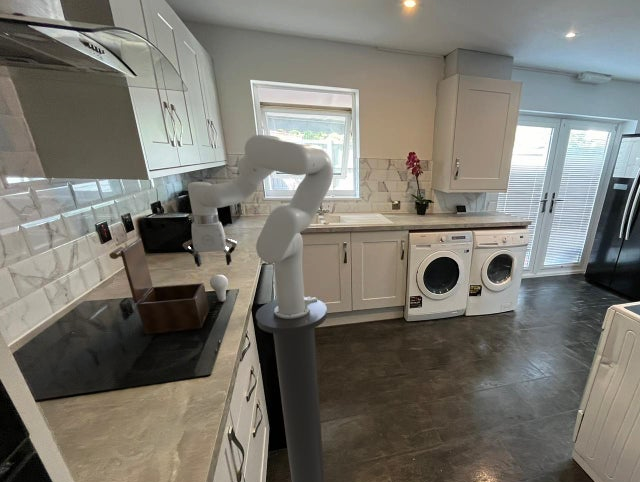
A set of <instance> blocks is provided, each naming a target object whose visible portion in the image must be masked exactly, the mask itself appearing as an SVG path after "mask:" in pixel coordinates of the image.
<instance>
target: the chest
mask: <svg viewBox="0 0 640 482" xmlns="http://www.w3.org/2000/svg"><path fill="white" fill-rule="evenodd" d="M135 304H136V308H137V311H138V315H139V317H140V318H139V319H140V321H141V324H142V328H143V331H144V334H145V336H146V335H155V334H164V333H174V332H181V331H191V330H199V329H202V328H203V325H204V324H205V322H206V319H207V316H208V314H209V311H210V307H209V302H208V297H207V293H206V288H205V283H204V282H201V283H200V282H199V283H188V284H174V285H162V286H152V287H151V288H150V289H149V290H148V291H147V293H146V294H145V295H144V296H143V297H142V298H141V299H140V300H139V301H138V303H135Z"/></svg>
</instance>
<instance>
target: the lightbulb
mask: <svg viewBox="0 0 640 482" xmlns="http://www.w3.org/2000/svg"><path fill="white" fill-rule="evenodd" d="M209 286H210V287H211V289H213V291H214V293H215V294H216V296H217V299H218V301H219V302H224V301H226V300H227V296H226V295H227V288H228V286H229V280H228V277H226V276H225V275H223V274H215V275H213V276H211V278H210V279H209Z"/></svg>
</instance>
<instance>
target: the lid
mask: <svg viewBox="0 0 640 482" xmlns="http://www.w3.org/2000/svg"><path fill="white" fill-rule="evenodd" d="M120 257H121V260H122V263H123V267H124V271H125V273H126V278H127V281H128V285H129V289H130V292H131V296H132V299H133V303H134V304H137V303H138V302H139V301H140V300H141V299H142V297H143V296H144V295H145V294H146V293H147V292H148V291H149V290H150V288H151V287H154V286H153V282H152V281H153V280H152V278H151V274H150V269H149V265H148V261H147V257H146V253H145V249H144V244H143V241H142V238H137V239H136V240H135V241H133V242H131V243H130V244H128V245H127V246H126V247H123V246H120V247H118V248H116V249H114V250H113V251H111V252H110V253H109V258H110V259H112V260H116V259H118V258H120Z"/></svg>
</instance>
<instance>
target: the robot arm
mask: <svg viewBox="0 0 640 482" xmlns="http://www.w3.org/2000/svg"><path fill="white" fill-rule="evenodd" d="M236 166H237V170H238V172H239V173H240V174H238V175H237V176H236V177H235V178H234V179H232V180H231V181H227V182H219V183H213V184H212V183H210V182H208V181H192V182H190V183H188V184H187V191H188V197H189V202H190V207H191V212H192V214H191V215H188V220H190V221H193V222H192V223H191V239H189V240H188V241H185V242H184V243H183V244H182V247H183V248H184V249H185V250H186V252H187V253H189V254H190V255H191V256H193V260H194V264H195V265H196V267H198V268H200V267H201V265H202V259H201V255H200V253H209V252H223V253H225V261H226V266H230V264H231V263H232V253H233V252H234V251H235V250H236V247H237V245H238V241H235V240H233V239H231V238H228V237H227V236H226V233H225V230H224V227H223V224H222V222H221V221H220V219H219V215H218V214H219V213H218V209H219V208H225V207H228V206H233V205H238V204H241V203H242V202H244V201H245V200H247V199H248V198H249V197H250V196H252V195H253V194H254V193H255V192H256V191H257V190H258V188H259V186H260V184H261V183H262V182H263V181H264V180H265V179H266V178H268V177H269V176H270V175H272V173H274V172H278V173H282V174H288V175H293V176H303V175H305V176H304V177H303V179H302V180H301V182H300V183H299V184H298V186H297V187H296V190H295V192H294V194H293V196H292V198H291V199H290V200H289V202H287V203H285V204H281V205H278V206H276V207H275V208H274V209H272V211H271V212H270V213H269V215H268V216H267V218H266V220H265V223H264V225H263V227H262V228H261V231H260V233H259V235H258V238H257V240H256V244H255V245H256V246H255V251H256V253H257V256H258V257H259V259H260V260H262V261H263V262H265V263H267V264H273V272H274V283H275V291H276V300H278V306H277V307H276V308H275V309H274V313H275V315H276V316H277V317H279V318H283V319H294V318H299V317H302V316H304V315H306V314H307V313H308V312H309V310H310V307H309V305H310V304H311V303H315V302H317V300H318V298H317V297H311V296H305V286H304V284H305V283H304V274H303V272H304V271H303V250H304V241H303V236H302V234H301V233H302V232H303V231H305V230H307V229H308V228H309V227H310V226H311V224H312V222H313V221H314V218H315V216H316V215H317V213H318V211H319V210H320V207H321V205H322V203H323V201H324V199H325V197H326V195H327V194H328V191H329V190H330V187H331V185H332V183H333V177H334V167H333V163H332V159H331V157H330V156H329V154H328V153H327V152H326V150H325V149H324V148H322V146H319V145H317V144H314V143H301V142H300V143H299V142H290V141H285V140H283V139H282V138H280V137H278V136H275V135H266V134H255V135H253V136H251V137H249V138H248V139H247V140H246V142H245V145H244V156H242V158H240V159H239V160H238V161H237V163H236ZM228 244H230V245H231V247H230V248H229V247H227V246H228ZM191 245H192V246H193V248H192V247H190V246H191ZM305 297H307V298H305Z"/></svg>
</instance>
